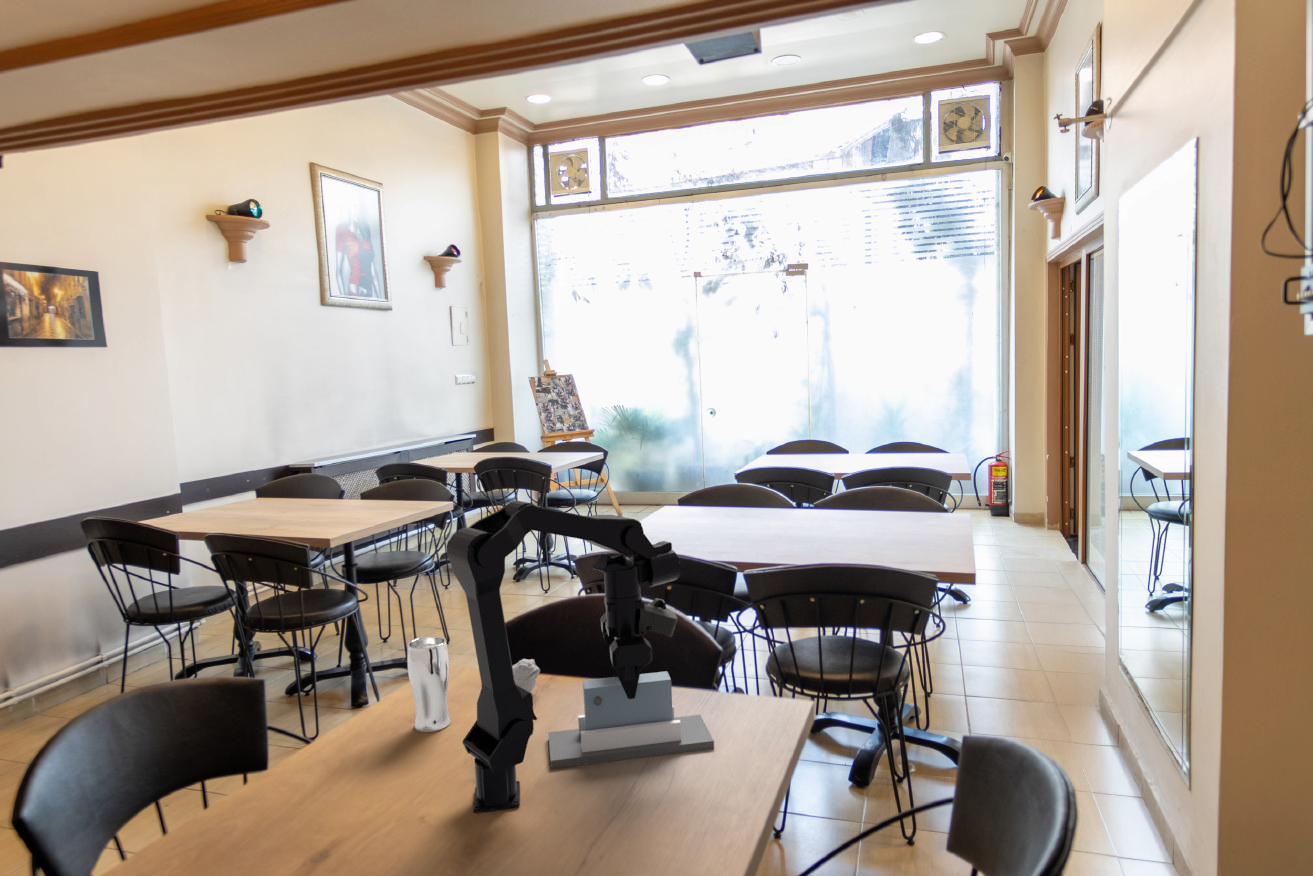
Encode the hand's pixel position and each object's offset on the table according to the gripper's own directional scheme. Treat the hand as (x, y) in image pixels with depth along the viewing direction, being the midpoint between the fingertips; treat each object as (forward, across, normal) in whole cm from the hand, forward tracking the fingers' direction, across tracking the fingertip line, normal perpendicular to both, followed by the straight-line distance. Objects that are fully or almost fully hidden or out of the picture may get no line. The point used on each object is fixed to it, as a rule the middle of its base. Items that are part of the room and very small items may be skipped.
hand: (627, 687), depth 131 cm
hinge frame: (+10, 0, 0) cm, 10 cm away
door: (+8, 0, 0) cm, 8 cm away
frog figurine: (+10, +25, +17) cm, 32 cm away
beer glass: (+10, +16, +33) cm, 38 cm away
